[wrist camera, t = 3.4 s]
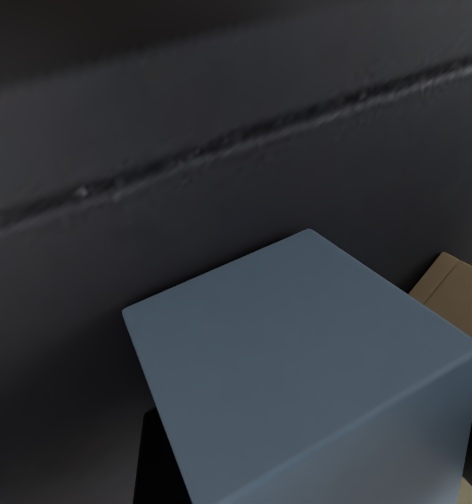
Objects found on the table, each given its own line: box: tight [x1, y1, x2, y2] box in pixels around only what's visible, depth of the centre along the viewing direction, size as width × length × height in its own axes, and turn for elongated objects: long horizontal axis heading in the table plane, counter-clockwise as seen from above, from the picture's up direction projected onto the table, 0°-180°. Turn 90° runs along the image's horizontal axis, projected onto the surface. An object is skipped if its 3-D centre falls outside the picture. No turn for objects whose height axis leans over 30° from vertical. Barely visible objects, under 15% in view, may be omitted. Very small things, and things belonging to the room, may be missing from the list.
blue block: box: [122, 229, 472, 504], centre depth 8 cm, size 4×4×4 cm
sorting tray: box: [408, 252, 472, 504], centre depth 17 cm, size 14×17×3 cm
